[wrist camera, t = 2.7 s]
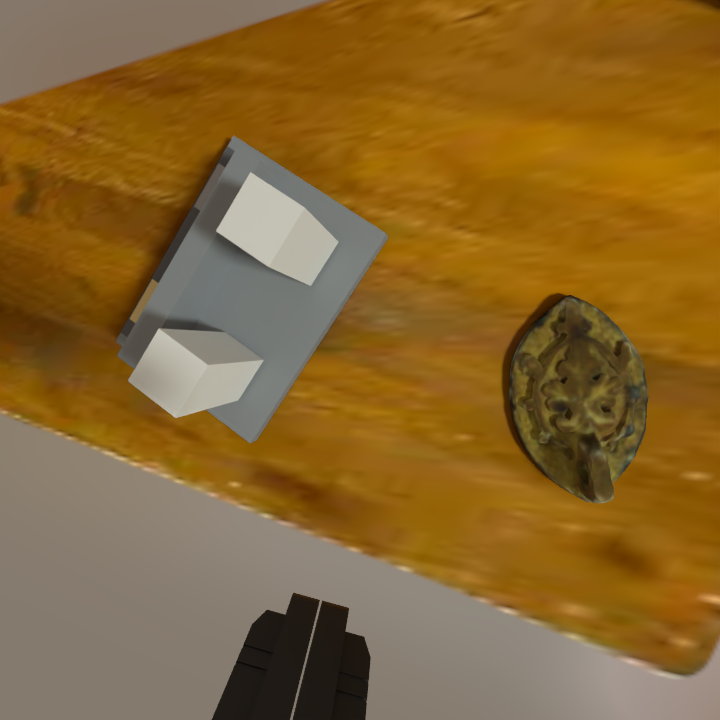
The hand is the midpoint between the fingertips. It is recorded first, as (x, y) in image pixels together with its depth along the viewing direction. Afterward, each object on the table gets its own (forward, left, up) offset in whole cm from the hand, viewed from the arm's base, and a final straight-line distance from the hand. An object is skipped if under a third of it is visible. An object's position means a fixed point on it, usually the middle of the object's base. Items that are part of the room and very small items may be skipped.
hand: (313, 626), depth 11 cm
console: (+8, -14, -23) cm, 28 cm away
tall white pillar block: (+11, -9, -22) cm, 26 cm away
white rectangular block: (+3, -16, -22) cm, 27 cm away
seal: (-13, 0, -24) cm, 28 cm away
